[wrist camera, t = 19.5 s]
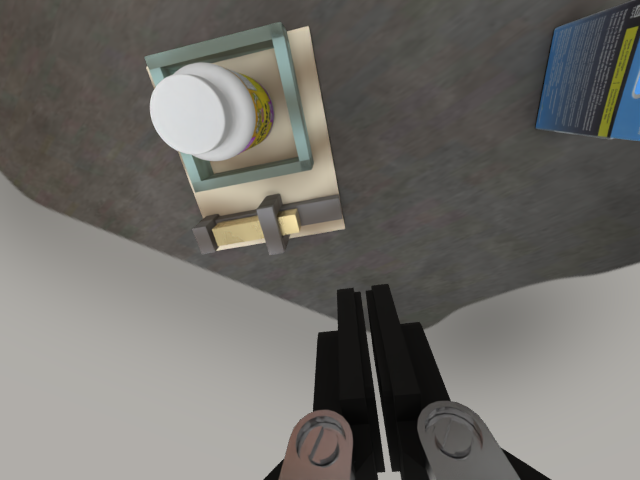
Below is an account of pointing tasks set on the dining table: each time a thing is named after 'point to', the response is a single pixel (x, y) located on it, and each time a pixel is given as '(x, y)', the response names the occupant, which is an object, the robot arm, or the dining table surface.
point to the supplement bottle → (211, 111)
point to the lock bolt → (254, 228)
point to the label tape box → (595, 76)
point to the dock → (276, 150)
